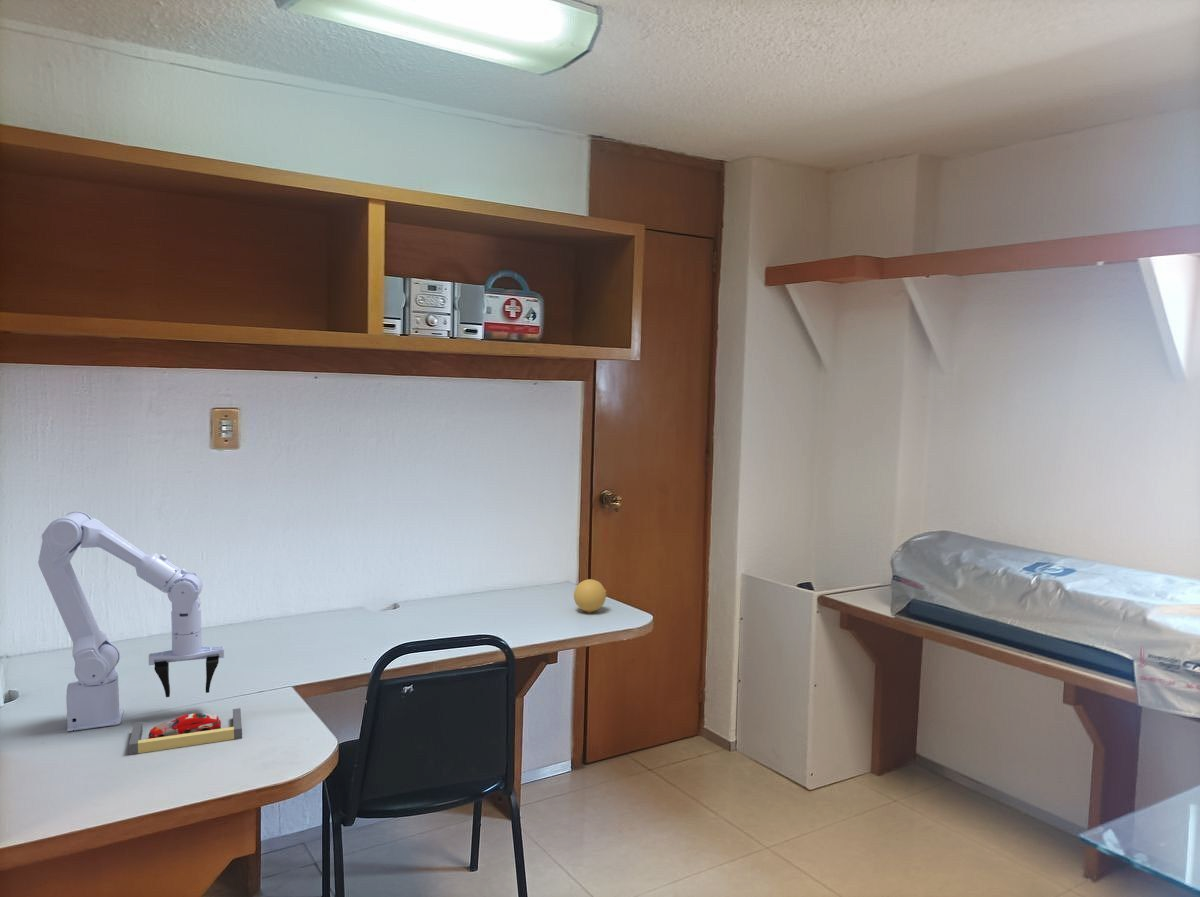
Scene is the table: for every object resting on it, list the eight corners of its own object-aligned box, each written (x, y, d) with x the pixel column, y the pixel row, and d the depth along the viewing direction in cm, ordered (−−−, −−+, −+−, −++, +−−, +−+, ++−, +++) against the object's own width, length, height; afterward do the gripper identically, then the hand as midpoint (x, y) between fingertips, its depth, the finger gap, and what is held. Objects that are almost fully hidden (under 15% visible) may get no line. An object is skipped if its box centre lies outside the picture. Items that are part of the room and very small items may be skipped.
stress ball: (596, 619, 265) (617, 595, 268) (575, 597, 263) (596, 573, 266) (583, 616, 274) (604, 593, 278) (562, 594, 272) (584, 571, 275)
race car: (148, 747, 172) (147, 727, 172) (149, 736, 177) (148, 717, 177) (221, 735, 178) (220, 716, 177) (220, 725, 183) (220, 707, 182)
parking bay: (129, 754, 168) (128, 744, 168) (134, 732, 178) (134, 722, 178) (242, 738, 176) (241, 728, 176) (240, 717, 186) (240, 708, 186)
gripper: (223, 622, 193) (224, 683, 194) (149, 629, 188) (151, 691, 189) (223, 631, 187) (224, 693, 188) (147, 638, 181) (148, 702, 182)
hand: (187, 693), depth 188 cm, fingers open, 7 cm apart
